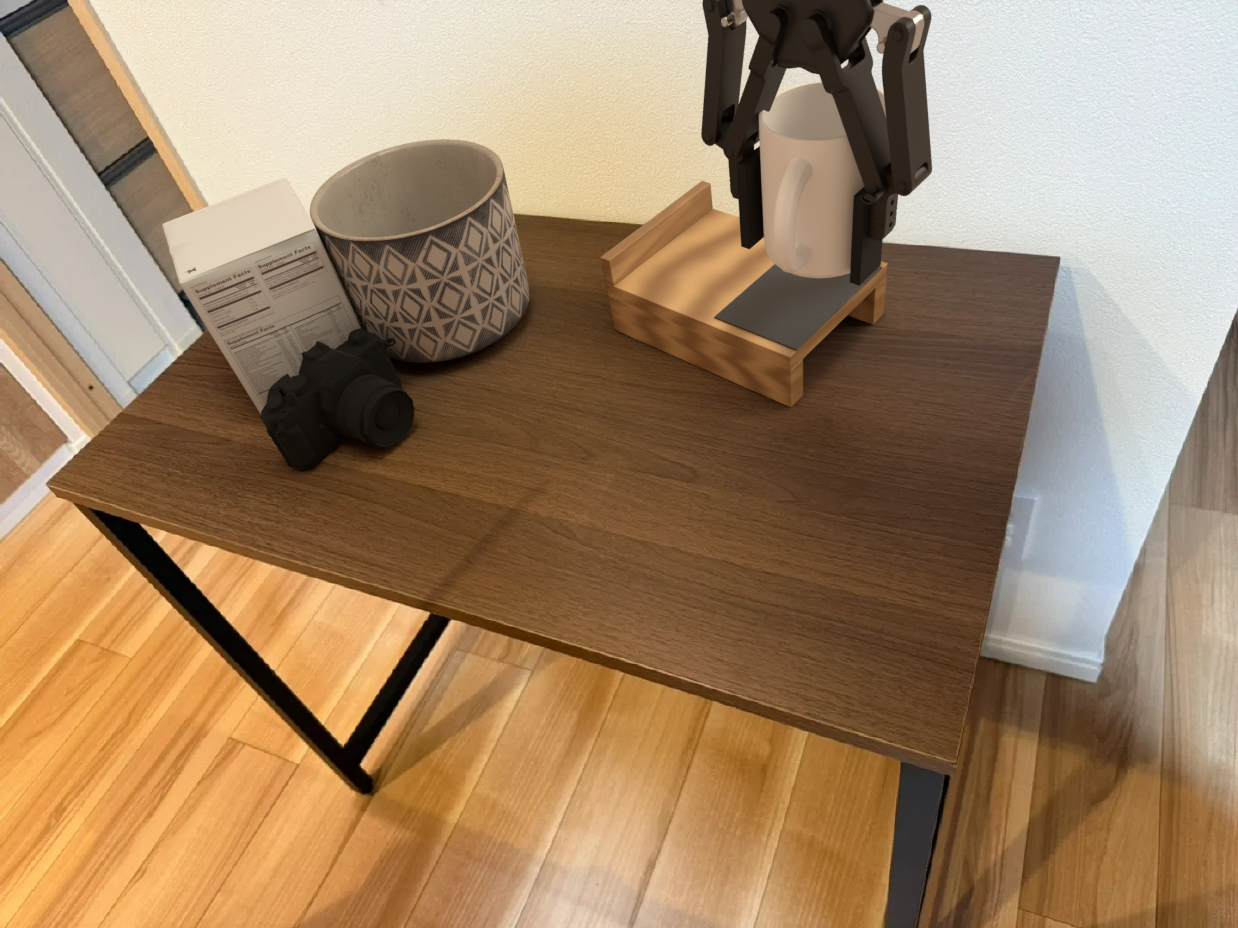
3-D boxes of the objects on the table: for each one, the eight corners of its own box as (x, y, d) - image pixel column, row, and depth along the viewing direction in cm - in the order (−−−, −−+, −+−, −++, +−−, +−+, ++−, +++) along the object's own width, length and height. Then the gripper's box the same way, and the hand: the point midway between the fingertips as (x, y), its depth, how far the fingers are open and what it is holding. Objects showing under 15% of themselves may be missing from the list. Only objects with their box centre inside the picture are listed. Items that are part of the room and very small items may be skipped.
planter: (380, 400, 89) (319, 262, 77) (356, 302, 102) (301, 172, 90) (558, 342, 92) (525, 200, 80) (512, 254, 105) (478, 121, 93)
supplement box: (383, 371, 93) (317, 227, 80) (264, 424, 90) (176, 283, 77) (351, 312, 102) (286, 174, 89) (241, 358, 99) (158, 222, 86)
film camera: (340, 499, 80) (300, 430, 74) (277, 463, 85) (234, 395, 79) (452, 399, 88) (424, 328, 81) (388, 371, 93) (357, 302, 86)
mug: (839, 324, 57) (844, 179, 49) (723, 301, 60) (711, 162, 53) (898, 225, 63) (910, 83, 56) (790, 209, 67) (788, 74, 59)
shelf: (883, 314, 86) (890, 235, 80) (791, 408, 79) (789, 329, 73) (708, 253, 98) (701, 180, 92) (614, 330, 91) (600, 257, 85)
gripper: (613, -104, 49) (660, 242, 66) (970, -78, 38) (920, 333, 54) (695, -145, 52) (720, 194, 69) (1046, -132, 41) (977, 270, 58)
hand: (808, 255), depth 62 cm, fingers closed on mug, 8 cm apart
